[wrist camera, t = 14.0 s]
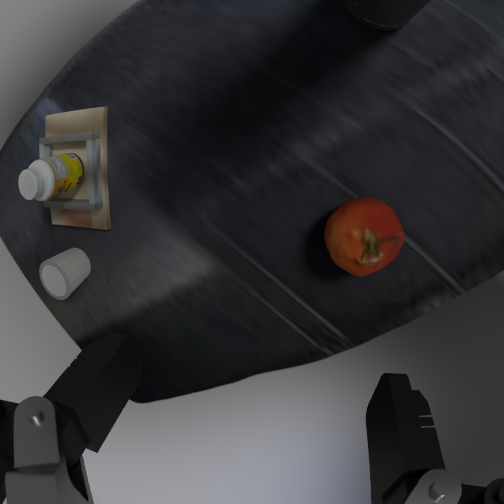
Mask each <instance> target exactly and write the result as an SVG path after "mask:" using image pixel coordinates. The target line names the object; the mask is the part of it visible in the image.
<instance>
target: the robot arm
mask: <svg viewBox="0 0 504 504" xmlns="http://www.w3.org/2000/svg"><path fill="white" fill-rule="evenodd" d="M430 1H431V0H342V2H343V4H344V6H345V8H346V10H347V11H348V12H349V14H350V15H351V16H352V17H353V18H355V19H356V20H357V21H358V22H360V23H361V24H363V25H365V26H367V27H370V28H373V29H376V30H382V31H390V30H395V29H399V28H401V27H402V26H404V25H405V24H406V23H407V22H408V21H409V20H410V19H412V18H413V17H414V16H415V15H416V14H417V13H418V12H419V11H420V10H421V9H422V8H423V7H425V6H426V5H427V4H428V3H429V2H430ZM141 374H142V366H141V361H140V356H139V350H138V345H137V339H136V336H135V335H134V334H132V333H128V332H124V331H121V330H117V329H112V330H111V331H110V332H109V333H108V334H107V335H106V336H105V338H104V339H103V340H102V341H101V340H96V341H94V342H93V343H91V344H89V345H88V346H86V347H85V348H84V349H83V350H82V351H81V352H80V354H79V355H78V356H77V359H74V361H73V362H72V363H71V364H70V367H68V368H67V369H66V370H65V371H64V372H63V374H62V375H61V376H60V377H59V378H58V379H57V381H56V382H55V383H54V384H53V386H52V387H51V388H50V389H49V391H48V392H47V393H46V394H45V395H44V396H43V397H39V396H33V397H29V398H27V399H25V400H23V401H22V402H21V403H14V402H9V401H4V400H0V504H3V502H4V500H5V498H7V504H94V502H93V499H92V495H91V491H90V487H89V483H88V478H87V474H86V469H85V465H84V460H83V456H82V454H83V452H84V450H85V449H86V448H87V449H89V450H92V451H94V452H96V453H98V451H99V449H100V447H101V445H102V444H103V442H104V441H105V439H106V437H107V435H108V434H109V432H110V430H111V428H112V427H113V425H114V424H115V422H116V420H117V419H118V417H119V415H120V414H121V412H122V410H123V408H124V407H125V405H126V403H127V402H128V400H129V398H130V397H131V395H132V393H133V392H134V390H135V389H136V387H137V385H138V383H139V381H140V378H141ZM366 428H367V439H368V451H369V464H370V479H371V500H372V504H504V478H499V479H496V480H494V481H492V482H491V483H490V484H489V485H488V486H486V487H480V486H472V485H465V484H461V483H460V481H459V479H458V478H457V477H456V475H454V474H453V473H452V472H450V471H448V470H446V468H445V465H444V461H443V457H442V453H441V449H440V445H439V441H438V437H437V433H436V429H435V428H434V422H433V418H432V417H431V411H430V408H429V404H428V401H427V400H426V399H425V398H424V396H423V395H422V394H421V392H420V391H419V390H412V389H411V385H410V382H409V378H408V376H407V375H406V374H392V373H384V374H383V375H382V376H381V378H380V380H379V382H378V385H377V387H376V389H375V391H374V393H373V396H372V398H371V400H370V402H369V404H368V407H367V412H366Z"/></svg>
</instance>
